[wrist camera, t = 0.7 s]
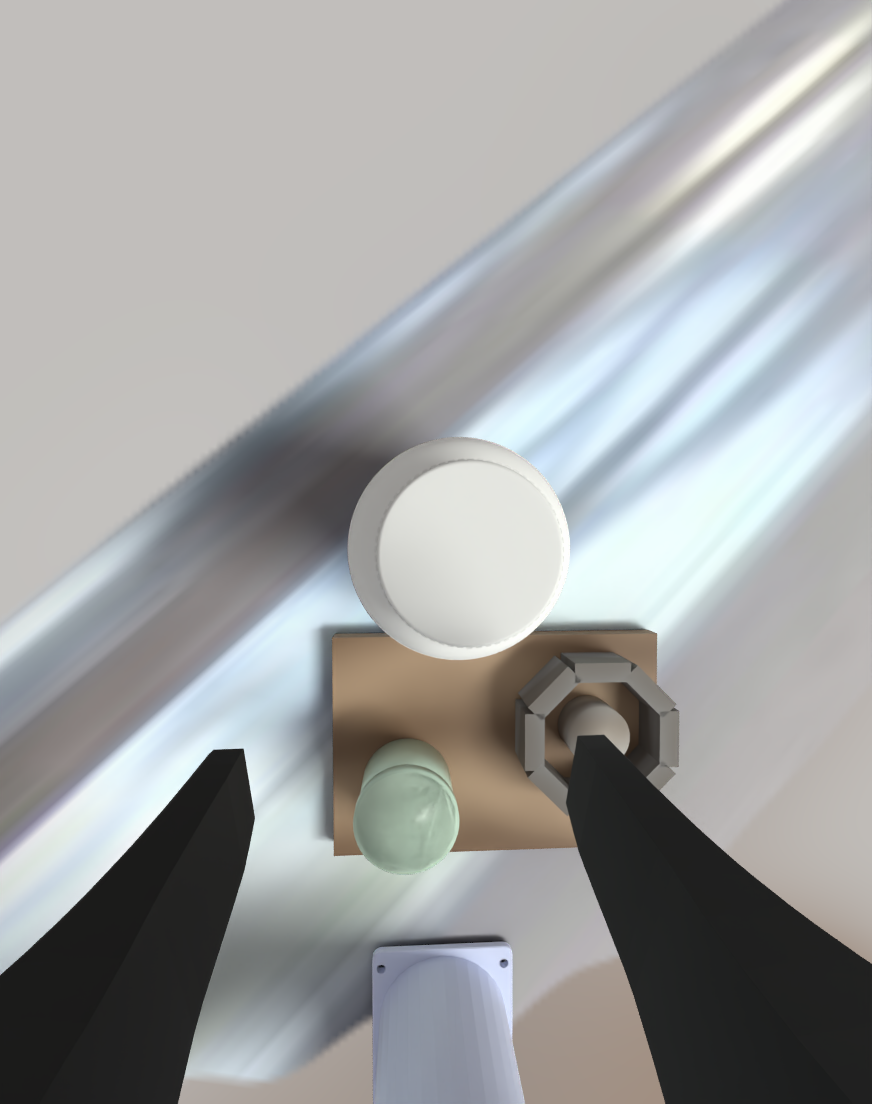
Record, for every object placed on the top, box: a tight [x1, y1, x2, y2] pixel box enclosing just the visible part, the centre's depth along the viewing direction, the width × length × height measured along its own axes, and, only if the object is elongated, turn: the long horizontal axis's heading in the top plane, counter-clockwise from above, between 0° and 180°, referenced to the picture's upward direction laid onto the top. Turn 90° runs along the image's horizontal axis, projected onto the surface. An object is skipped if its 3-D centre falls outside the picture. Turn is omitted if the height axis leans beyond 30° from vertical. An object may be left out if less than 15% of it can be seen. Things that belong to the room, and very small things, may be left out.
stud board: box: [332, 630, 679, 856], centre depth 27 cm, size 12×18×4 cm, turn 90°
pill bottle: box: [348, 437, 570, 660], centre depth 21 cm, size 8×8×15 cm
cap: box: [353, 739, 459, 875], centre depth 26 cm, size 5×5×4 cm
